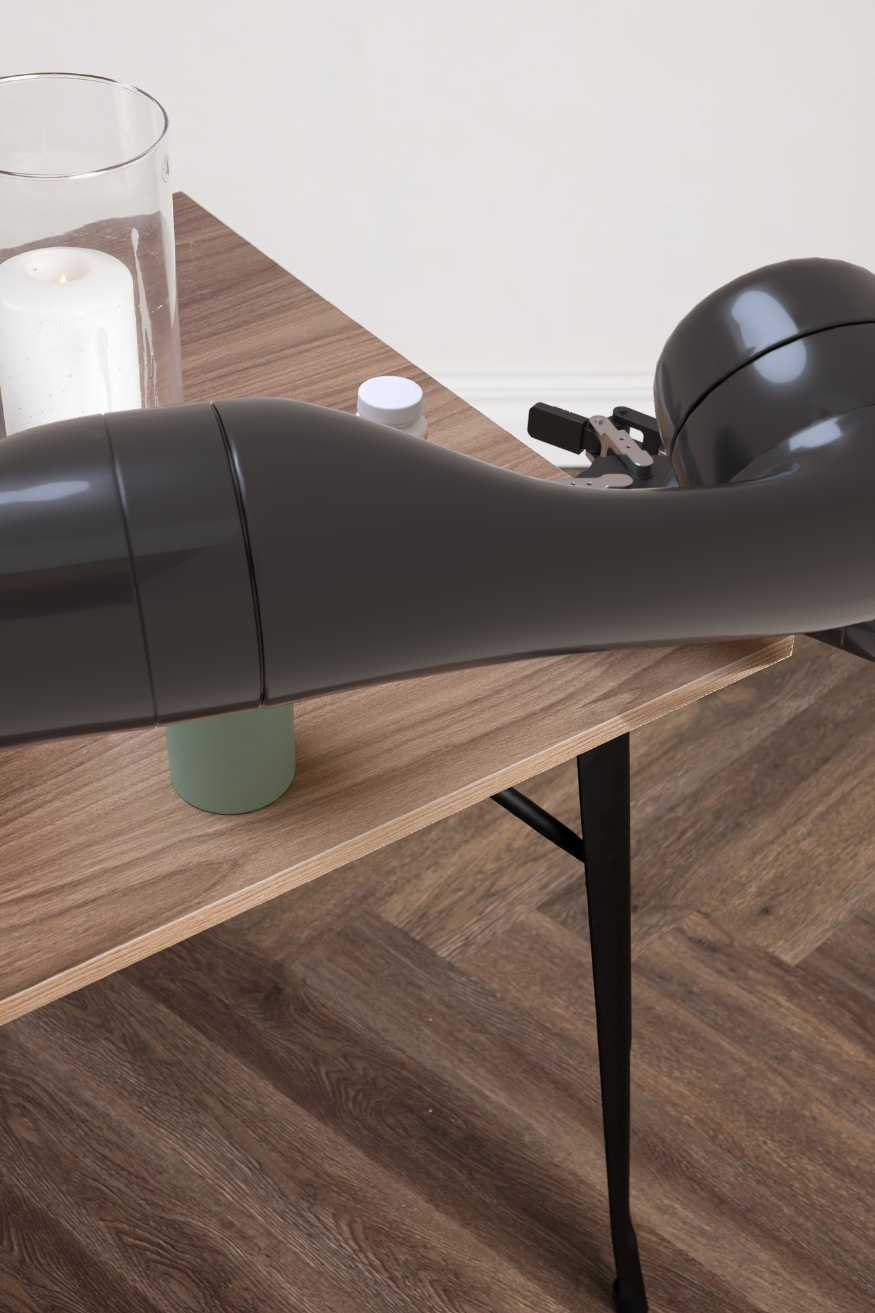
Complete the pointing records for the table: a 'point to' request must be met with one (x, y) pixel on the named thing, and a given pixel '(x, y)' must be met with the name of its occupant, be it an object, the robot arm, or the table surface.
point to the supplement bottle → (393, 404)
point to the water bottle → (233, 759)
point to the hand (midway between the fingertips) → (494, 448)
